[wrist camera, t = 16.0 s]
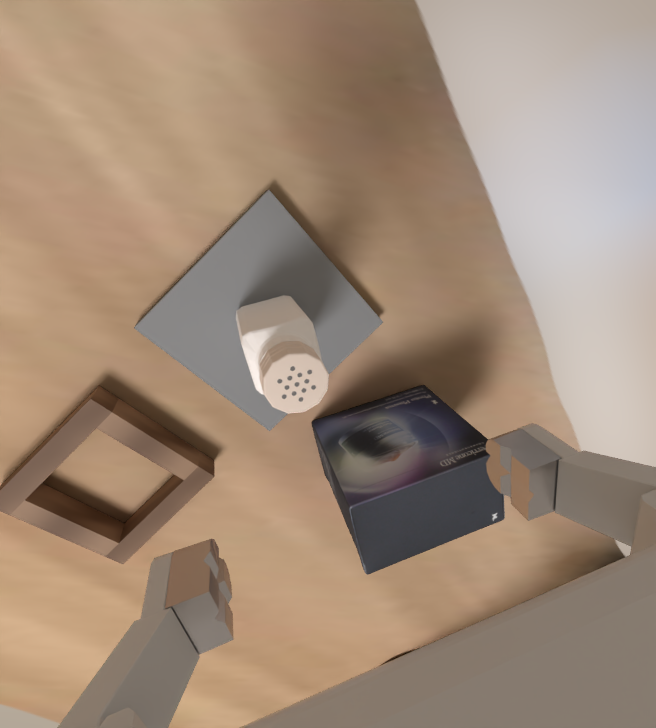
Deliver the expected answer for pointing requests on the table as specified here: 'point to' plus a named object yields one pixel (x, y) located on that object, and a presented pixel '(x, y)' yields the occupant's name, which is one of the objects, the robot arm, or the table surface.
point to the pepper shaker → (282, 354)
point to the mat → (251, 285)
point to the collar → (83, 522)
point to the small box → (406, 475)
